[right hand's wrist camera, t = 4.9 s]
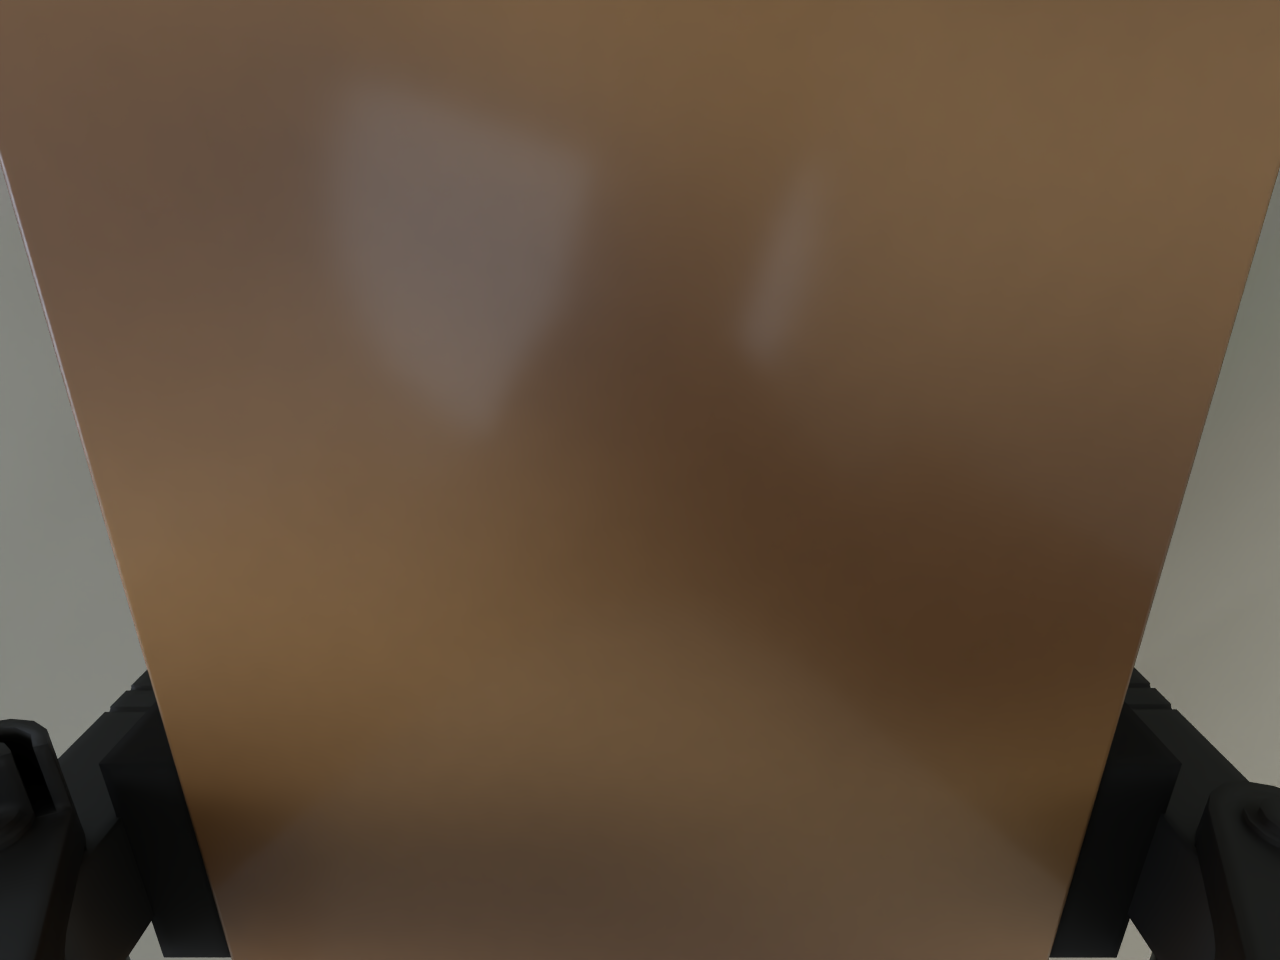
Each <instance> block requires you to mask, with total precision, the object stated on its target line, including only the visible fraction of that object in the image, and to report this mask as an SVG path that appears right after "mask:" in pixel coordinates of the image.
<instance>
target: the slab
mask: <svg viewBox="0 0 1280 960" xmlns="http://www.w3.org/2000/svg"><path fill="white" fill-rule="evenodd" d="M0 164H1V168H2V171H3V175H4V178H5V181H6V185H7V188H8V192H9V195H10V199H11V202H12V206H13V209H14V212H15V216H16V219H17V223H18V226H19V230H20V233H21V236H22V240H23V243H24V247H25V250H26V254H27V257H28V261H29V264H30V267H31V271H32V274H33V278H34V281H35V285H36V288H37V291H38V295H39V298H40V302H41V305H42V309H43V312H44V316H45V319H46V322H47V326H48V329H49V333H50V336H51V340H52V343H53V346H54V350H55V353H56V357H57V360H58V364H59V367H60V371H61V374H62V377H63V381H64V384H65V388H66V391H67V395H68V398H69V401H70V405H71V408H72V412H73V415H74V419H75V422H76V426H77V429H78V432H79V436H80V439H81V443H82V446H83V450H84V453H85V456H86V460H87V463H88V467H89V470H90V474H91V477H92V481H93V484H94V487H95V491H96V494H97V498H98V501H99V505H100V508H101V511H102V515H103V518H104V522H105V525H106V529H107V532H108V536H109V539H110V542H111V546H112V549H113V553H114V556H115V560H116V563H117V566H118V570H119V573H120V577H121V580H122V584H123V587H124V591H125V594H126V597H127V601H128V604H129V608H130V611H131V615H132V618H133V621H134V625H135V628H136V632H137V635H138V639H139V642H140V646H141V649H142V652H143V656H144V659H145V663H146V666H147V670H148V673H149V676H150V680H151V683H152V687H153V690H154V694H155V697H156V701H157V704H158V707H159V711H160V714H161V718H162V721H163V725H164V728H165V731H166V735H167V738H168V742H169V745H170V749H171V752H172V756H173V759H174V762H175V766H176V769H177V773H178V776H179V780H180V783H181V787H182V790H183V793H184V797H185V800H186V804H187V807H188V811H189V814H190V817H191V821H192V824H193V828H194V831H195V835H196V838H197V842H198V845H199V848H200V852H201V855H202V859H203V862H204V866H205V869H206V872H207V876H208V879H209V883H210V886H211V890H212V893H213V897H214V900H215V903H216V907H217V910H218V914H219V917H220V921H221V924H222V927H223V931H224V934H225V938H226V941H227V945H228V948H229V952H230V955H231V958H232V960H1049V956H1050V953H1051V949H1052V946H1053V943H1054V939H1055V936H1056V932H1057V929H1058V925H1059V922H1060V919H1061V915H1062V912H1063V908H1064V905H1065V901H1066V898H1067V895H1068V891H1069V888H1070V884H1071V881H1072V877H1073V874H1074V871H1075V867H1076V864H1077V860H1078V857H1079V853H1080V850H1081V847H1082V843H1083V840H1084V836H1085V833H1086V829H1087V826H1088V823H1089V819H1090V816H1091V812H1092V809H1093V805H1094V802H1095V799H1096V795H1097V792H1098V788H1099V785H1100V781H1101V778H1102V775H1103V771H1104V768H1105V764H1106V761H1107V757H1108V754H1109V751H1110V747H1111V744H1112V740H1113V737H1114V733H1115V730H1116V727H1117V723H1118V720H1119V716H1120V713H1121V709H1122V706H1123V703H1124V699H1125V696H1126V692H1127V689H1128V685H1129V682H1130V679H1131V675H1132V672H1133V668H1134V665H1135V661H1136V658H1137V655H1138V651H1139V648H1140V644H1141V641H1142V637H1143V634H1144V631H1145V627H1146V624H1147V620H1148V617H1149V613H1150V610H1151V607H1152V603H1153V600H1154V596H1155V593H1156V589H1157V586H1158V583H1159V579H1160V576H1161V572H1162V569H1163V565H1164V562H1165V559H1166V555H1167V552H1168V548H1169V545H1170V541H1171V538H1172V535H1173V531H1174V528H1175V524H1176V521H1177V517H1178V514H1179V511H1180V507H1181V504H1182V500H1183V497H1184V493H1185V490H1186V487H1187V483H1188V480H1189V476H1190V473H1191V469H1192V466H1193V463H1194V459H1195V456H1196V452H1197V449H1198V445H1199V442H1200V439H1201V435H1202V432H1203V428H1204V425H1205V421H1206V418H1207V415H1208V411H1209V408H1210V404H1211V401H1212V397H1213V394H1214V391H1215V387H1216V384H1217V380H1218V377H1219V373H1220V370H1221V367H1222V363H1223V360H1224V356H1225V353H1226V349H1227V346H1228V343H1229V339H1230V336H1231V332H1232V329H1233V325H1234V322H1235V319H1236V315H1237V312H1238V308H1239V305H1240V301H1241V298H1242V295H1243V291H1244V288H1245V284H1246V281H1247V277H1248V274H1249V270H1250V267H1251V264H1252V260H1253V257H1254V253H1255V250H1256V246H1257V243H1258V240H1259V236H1260V233H1261V229H1262V226H1263V222H1264V219H1265V216H1266V212H1267V209H1268V205H1269V202H1270V198H1271V195H1272V192H1273V188H1274V185H1275V181H1276V178H1277V174H1278V171H1279V168H1280V0H0Z"/></svg>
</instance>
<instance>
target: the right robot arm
mask: <svg viewBox="0 0 1280 960" xmlns="http://www.w3.org/2000/svg"><path fill="white" fill-rule="evenodd" d="M131 687H132V688H131V690H130V691H126V692H125V693H124V694H123V695H122V696H121V697H120V698H119V699H118V700H117V701H116V702H115V703H114V704H113V705H112V706H111V707H110V708H111V709H110V712H105V713H104V714H103V715H102V716H101V717H100V718H99V719H98V720H97V721H96V722H95V723H94V724H93V725H92V726H91V727H90V728H89V729H88V730H87V731H86V732H85V733H84V734H83V735H82V736H81V737H80V738H79V739H78V740H77V741H76V742H75V743H74V744H73V745H72V746H71V747H70V748H69V749H68V750H67V751H66V752H65V753H64V754H63V755H62V756H61V757H60V758H59V759H57V756H56V753H55V751H54V748H53V745H52V742H51V740H50V737H49V734H48V731H47V729H45V728H44V727H42V726H41V725H39V724H38V723H36V722H35V721H28V720H17V719H7V720H1V721H0V960H130V957H129V954H130V953H131V951H132V949H133V948H134V946H135V945H136V943H137V942H138V940H139V939H140V937H141V936H142V934H143V933H144V931H145V930H146V928H147V927H148V925H149V924H150V922H151V921H152V923H153V926H154V929H155V932H156V935H157V938H158V941H159V944H160V947H161V950H162V953H163V956H164V957H231V955H230V952H229V948H228V945H227V941H226V938H225V934H224V931H223V927H222V924H221V921H220V917H219V914H218V910H217V907H216V903H215V900H214V897H213V893H212V890H211V886H210V883H209V879H208V876H207V872H206V869H205V866H204V862H203V859H202V855H201V852H200V848H199V845H198V842H197V838H196V835H195V831H194V828H193V824H192V821H191V817H190V814H189V811H188V807H187V804H186V800H185V797H184V793H183V790H182V787H181V783H180V780H179V776H178V773H177V769H176V766H175V762H174V759H173V756H172V752H171V749H170V745H169V742H168V738H167V735H166V731H165V728H164V725H163V721H162V718H161V714H160V711H159V707H158V704H157V701H156V697H155V694H154V690H153V687H152V683H151V680H150V676H149V673H148V670H146V671H145V672H144V673H143V674H142V675H141V676H140V677H139V678H138V679H137V680H136V681H135V682H134V683H133V684H132V685H131ZM1129 919H1131V920H1132V922H1133V923H1134V925H1135V926H1136V928H1137V929H1138V931H1139V932H1140V934H1141V936H1142V937H1143V939H1144V940H1145V942H1146V943H1147V945H1148V946H1149V948H1150V949H1151V951H1152V955H1151V957H1150V960H1280V788H1278V787H1275V786H1270V785H1265V784H1259V783H1253V782H1249V781H1248V780H1247V779H1246V778H1245V777H1244V776H1243V775H1242V774H1241V773H1240V772H1239V771H1238V770H1237V769H1236V768H1235V767H1234V766H1233V765H1232V764H1231V763H1230V762H1229V761H1228V760H1227V759H1226V758H1225V757H1224V756H1223V755H1222V754H1221V753H1220V752H1219V751H1218V750H1217V749H1216V748H1215V747H1214V746H1213V745H1212V744H1211V743H1210V742H1209V741H1208V740H1207V739H1206V738H1205V737H1204V736H1203V735H1202V734H1201V733H1200V732H1199V731H1198V730H1197V729H1196V728H1195V727H1194V726H1193V725H1192V724H1191V723H1190V722H1189V721H1188V720H1187V719H1186V718H1185V717H1184V716H1183V715H1182V714H1181V713H1180V712H1179V711H1178V710H1176V709H1172V708H1171V704H1170V703H1169V702H1168V701H1167V700H1166V699H1165V698H1164V697H1163V696H1162V695H1161V694H1160V693H1159V692H1158V691H1157V690H1156V689H1155V688H1150V683H1149V682H1148V681H1147V680H1146V679H1145V678H1144V677H1143V676H1142V675H1141V674H1140V673H1139V672H1138V671H1137V670H1136V669H1135V668H1133V672H1132V675H1131V679H1130V682H1129V685H1128V689H1127V692H1126V696H1125V699H1124V703H1123V706H1122V709H1121V713H1120V716H1119V720H1118V723H1117V727H1116V730H1115V733H1114V737H1113V740H1112V744H1111V747H1110V751H1109V754H1108V757H1107V761H1106V764H1105V768H1104V771H1103V775H1102V778H1101V781H1100V785H1099V788H1098V792H1097V795H1096V799H1095V802H1094V805H1093V809H1092V812H1091V816H1090V819H1089V823H1088V826H1087V829H1086V833H1085V836H1084V840H1083V843H1082V847H1081V850H1080V853H1079V857H1078V860H1077V864H1076V867H1075V871H1074V874H1073V877H1072V881H1071V884H1070V888H1069V891H1068V895H1067V898H1066V901H1065V905H1064V908H1063V912H1062V915H1061V919H1060V922H1059V925H1058V929H1057V932H1056V936H1055V939H1054V943H1053V946H1052V949H1051V953H1050V956H1049V957H1116V958H1117V955H1118V952H1119V949H1120V946H1121V943H1122V940H1123V937H1124V934H1125V931H1126V928H1127V925H1128V922H1129Z"/></svg>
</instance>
